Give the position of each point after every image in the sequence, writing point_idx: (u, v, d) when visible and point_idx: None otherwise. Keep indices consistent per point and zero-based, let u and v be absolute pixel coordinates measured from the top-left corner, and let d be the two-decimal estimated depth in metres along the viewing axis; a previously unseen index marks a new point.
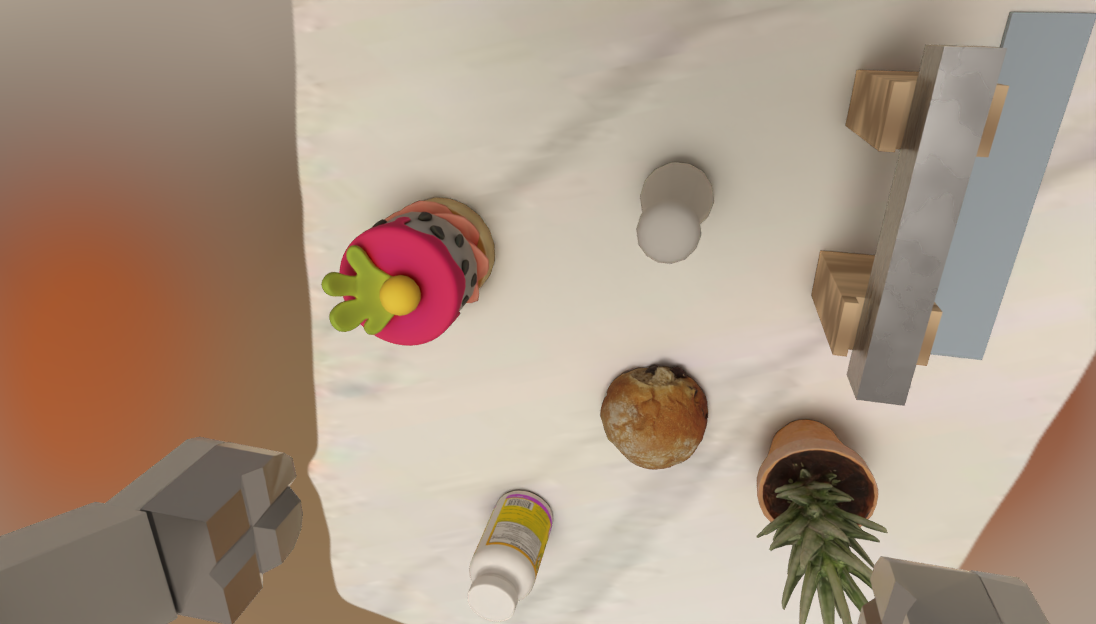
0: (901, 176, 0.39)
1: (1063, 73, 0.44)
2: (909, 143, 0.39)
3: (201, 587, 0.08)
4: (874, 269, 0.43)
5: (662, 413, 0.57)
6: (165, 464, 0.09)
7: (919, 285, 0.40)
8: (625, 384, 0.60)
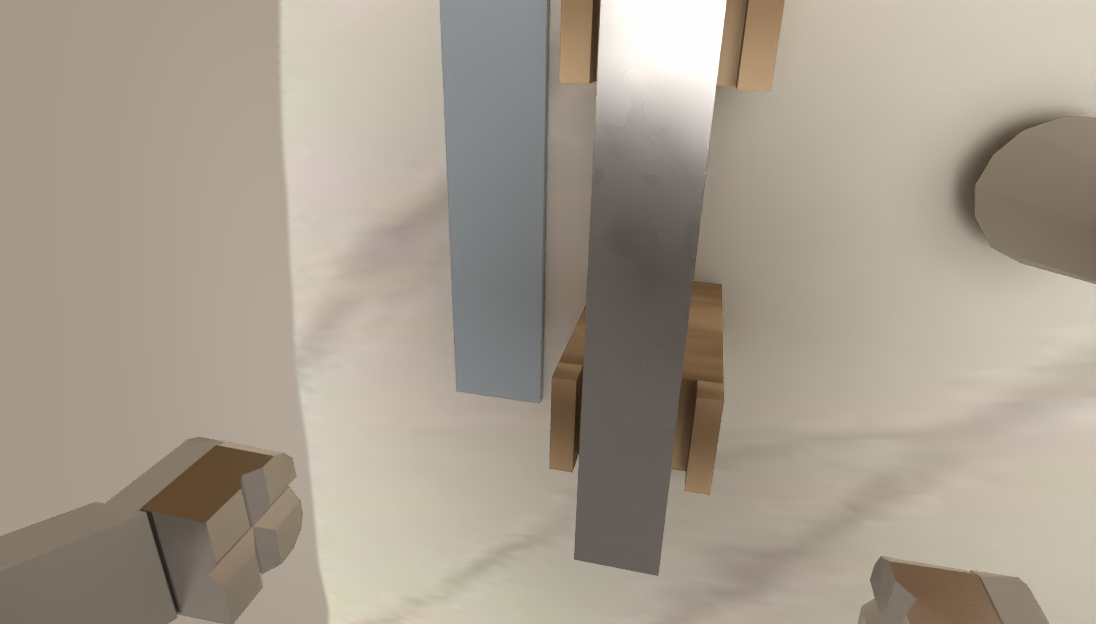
0: None
1: (468, 334, 0.36)
2: None
3: (199, 587, 0.08)
4: None
5: None
6: (164, 463, 0.09)
7: (629, 189, 0.18)
8: None
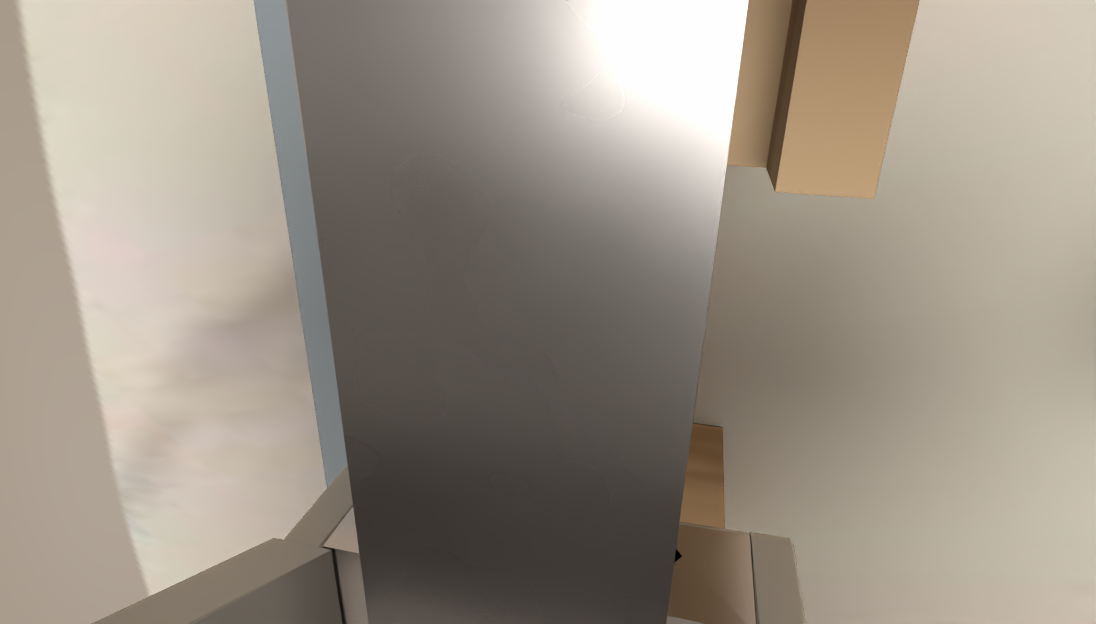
0: None
1: None
2: None
3: None
4: None
5: None
6: (333, 494, 0.08)
7: (455, 503, 0.06)
8: None
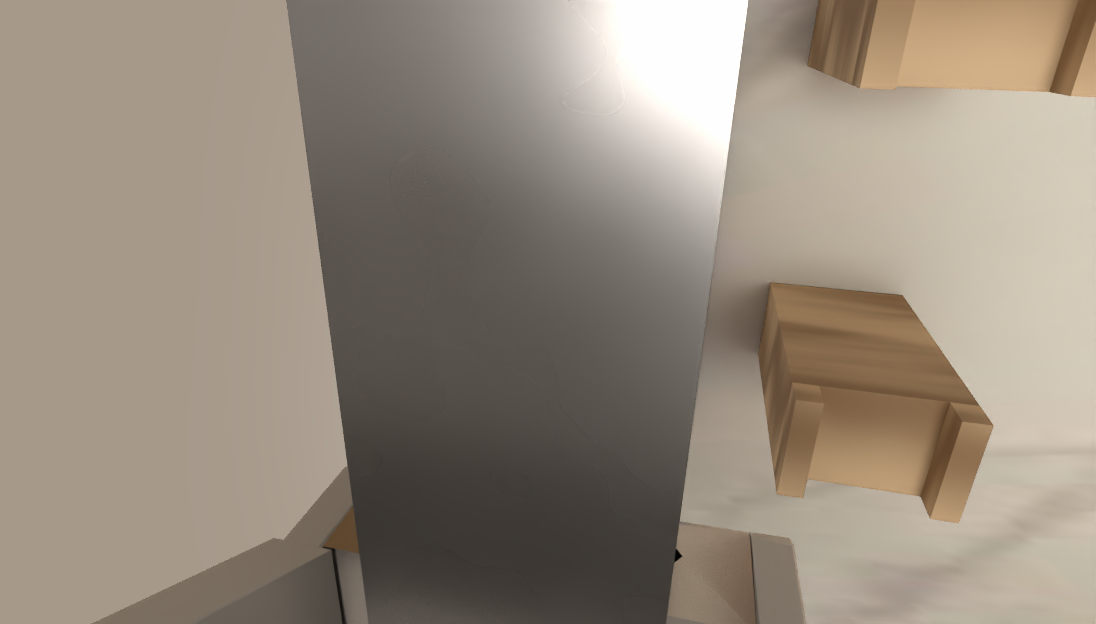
0: None
1: None
2: None
3: None
4: None
5: None
6: (333, 494, 0.08)
7: (454, 501, 0.06)
8: None
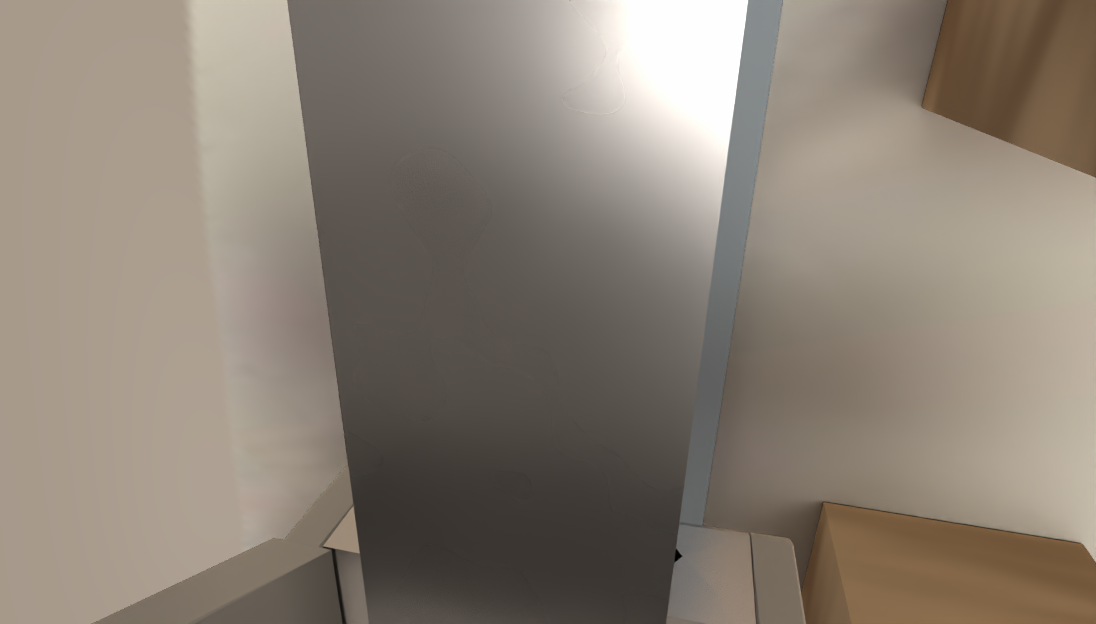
0: None
1: None
2: None
3: None
4: None
5: None
6: (332, 495, 0.08)
7: (455, 500, 0.06)
8: None
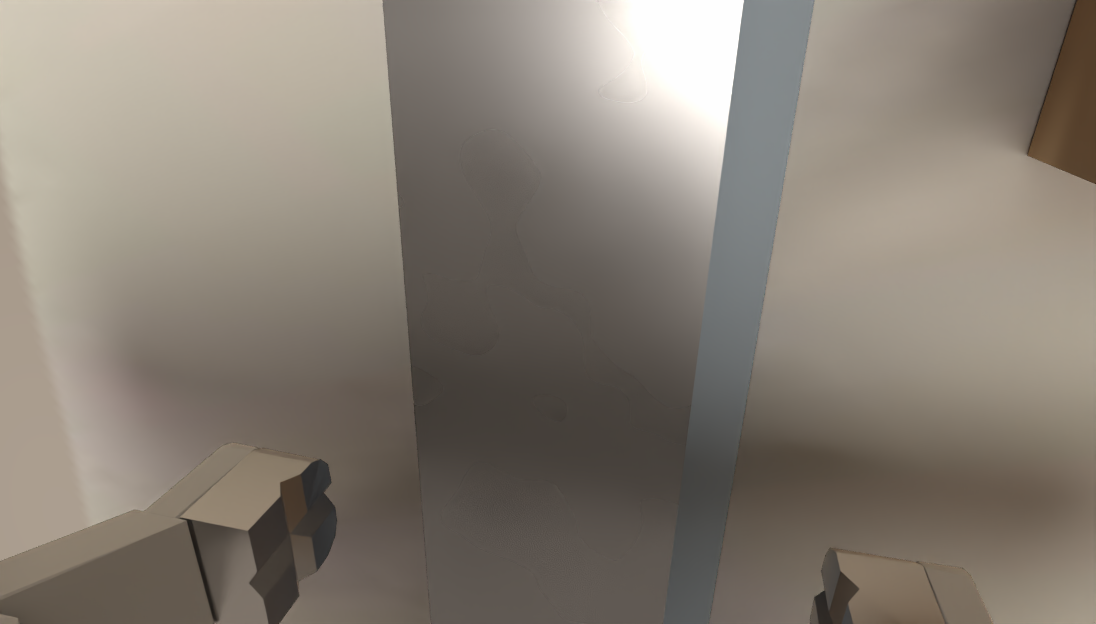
0: None
1: None
2: None
3: (239, 595, 0.08)
4: None
5: None
6: (202, 471, 0.09)
7: (503, 422, 0.07)
8: None
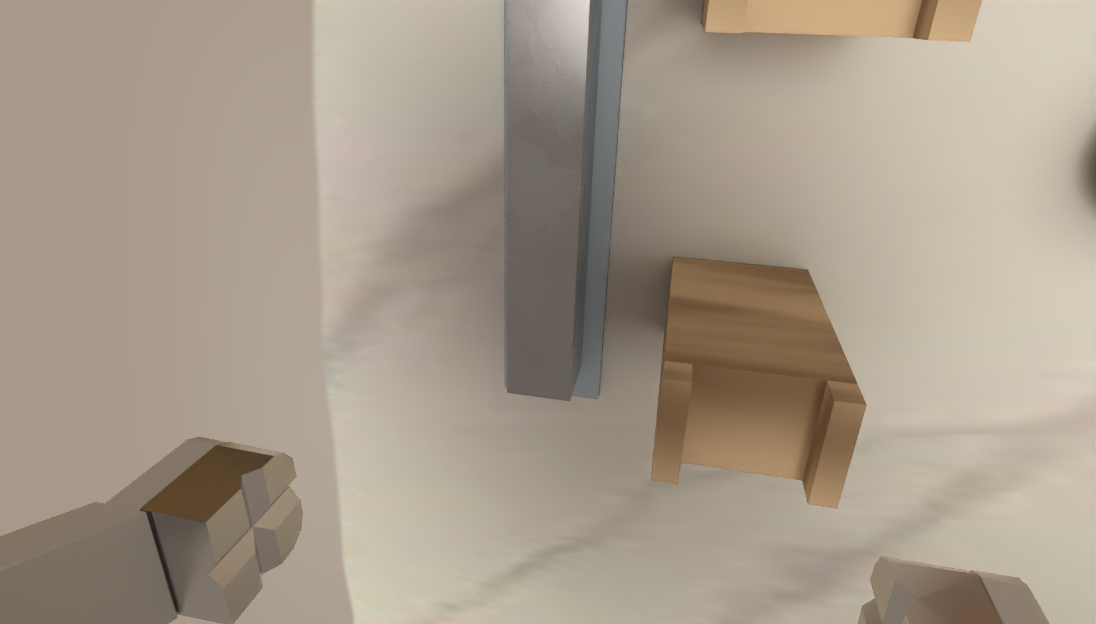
0: (584, 236, 0.28)
1: None
2: (582, 276, 0.29)
3: (200, 587, 0.08)
4: (596, 81, 0.27)
5: None
6: (164, 464, 0.09)
7: (533, 92, 0.24)
8: None
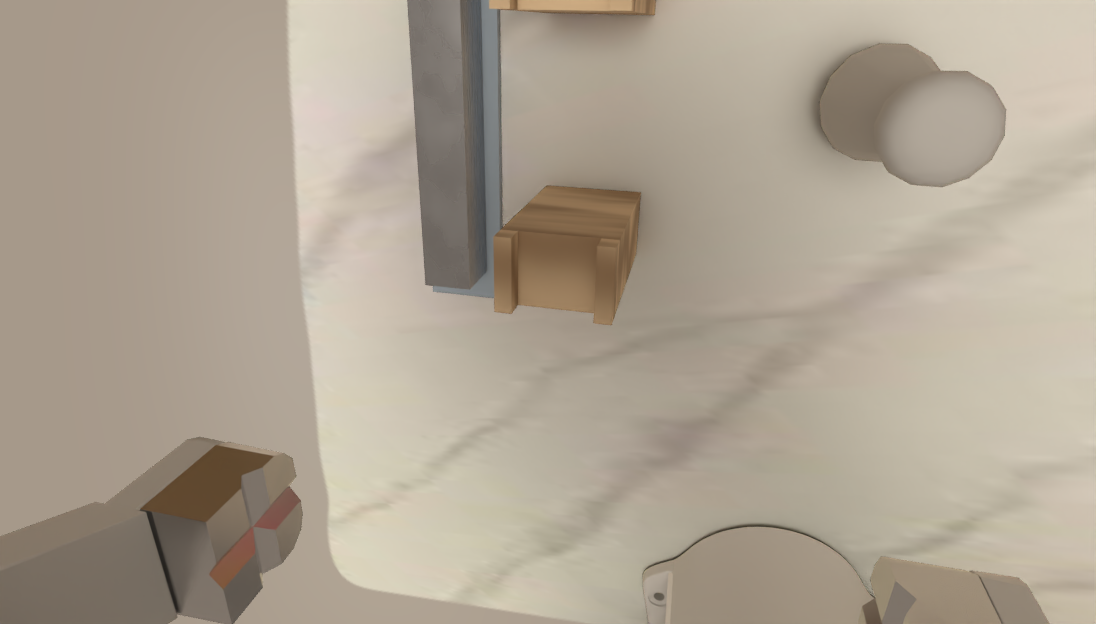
0: (476, 167, 0.40)
1: None
2: (478, 197, 0.41)
3: (199, 587, 0.08)
4: (479, 55, 0.38)
5: None
6: (165, 463, 0.09)
7: (428, 60, 0.36)
8: None
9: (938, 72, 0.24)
